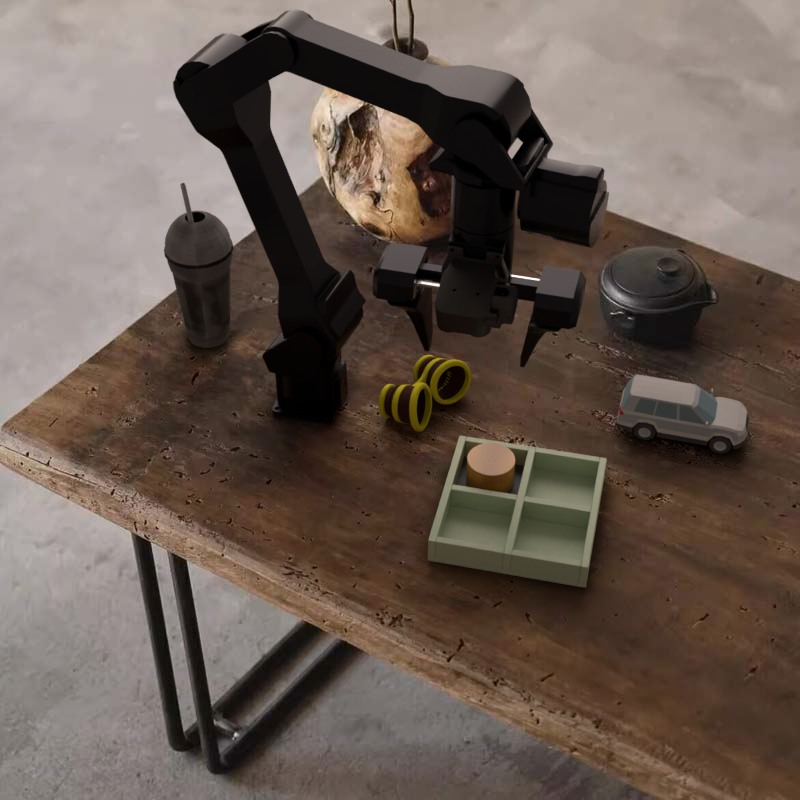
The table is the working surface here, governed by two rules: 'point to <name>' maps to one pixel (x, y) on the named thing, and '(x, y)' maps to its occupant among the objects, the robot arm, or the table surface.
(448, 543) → the grid
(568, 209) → the robot arm
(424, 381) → the opera glasses
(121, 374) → the table surface
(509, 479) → the cylinder
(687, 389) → the toy car
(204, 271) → the beverage cup
